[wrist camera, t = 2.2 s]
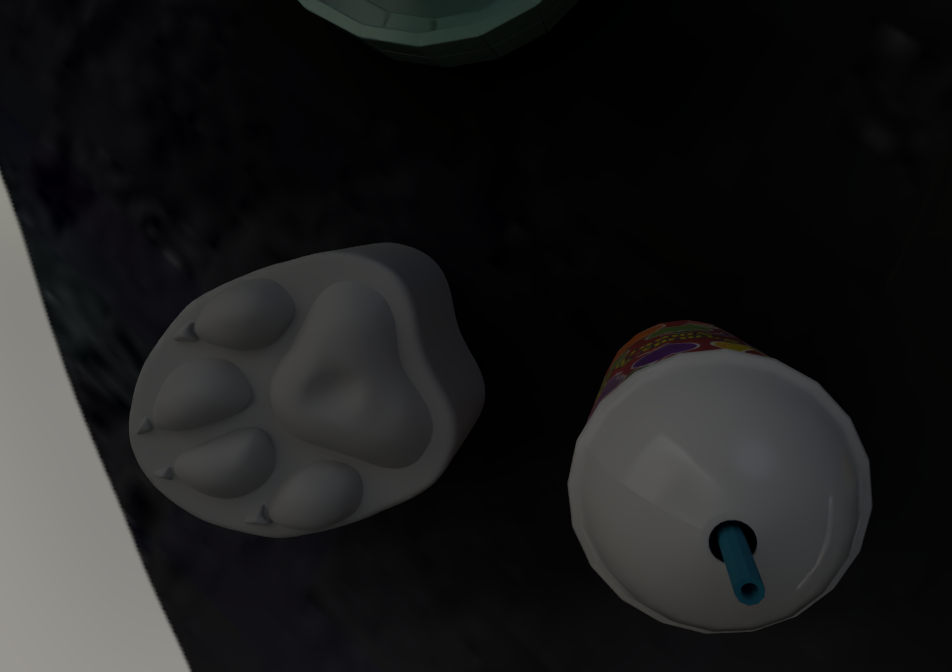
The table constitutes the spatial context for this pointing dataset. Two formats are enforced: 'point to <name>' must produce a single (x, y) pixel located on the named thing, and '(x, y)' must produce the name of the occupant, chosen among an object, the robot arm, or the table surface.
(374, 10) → the pale green round tub
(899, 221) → the table surface
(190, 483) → the lumpy-topped squat cylinder
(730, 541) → the smoothie
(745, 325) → the table surface
